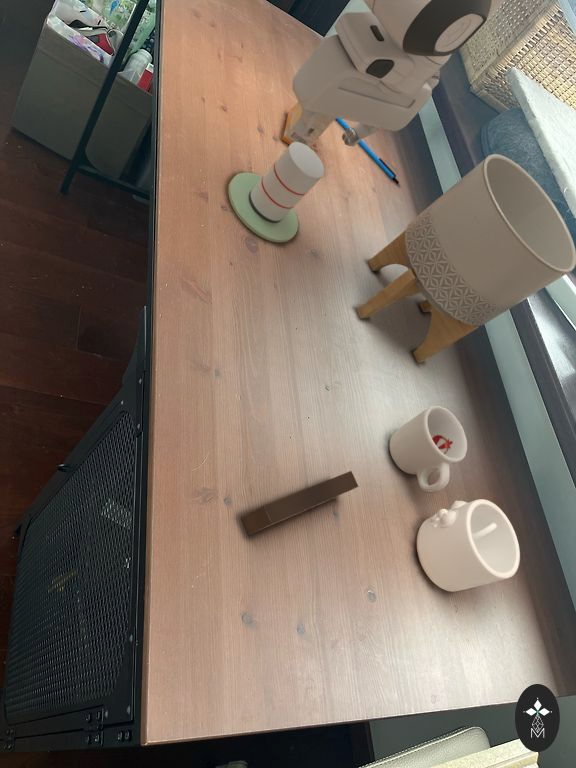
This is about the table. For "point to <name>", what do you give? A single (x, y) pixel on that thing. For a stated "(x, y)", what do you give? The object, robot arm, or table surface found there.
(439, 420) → the cup
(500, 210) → the planter
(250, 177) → the coaster
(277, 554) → the table surface
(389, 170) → the pen
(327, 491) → the rail
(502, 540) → the mug
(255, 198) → the white striped cylinder
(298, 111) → the supplement box
